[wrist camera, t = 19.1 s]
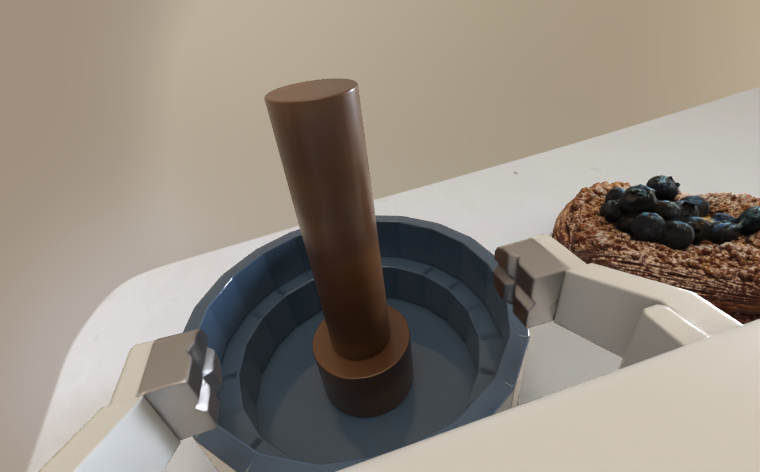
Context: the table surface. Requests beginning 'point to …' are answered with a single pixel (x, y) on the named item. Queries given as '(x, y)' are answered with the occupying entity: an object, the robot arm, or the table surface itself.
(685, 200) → the pastry
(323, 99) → the pestle
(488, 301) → the bowl
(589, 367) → the table surface
